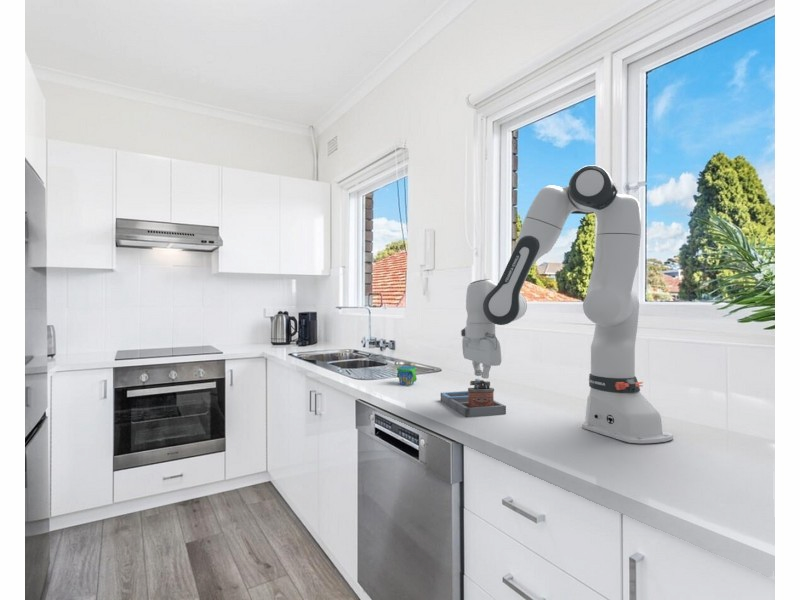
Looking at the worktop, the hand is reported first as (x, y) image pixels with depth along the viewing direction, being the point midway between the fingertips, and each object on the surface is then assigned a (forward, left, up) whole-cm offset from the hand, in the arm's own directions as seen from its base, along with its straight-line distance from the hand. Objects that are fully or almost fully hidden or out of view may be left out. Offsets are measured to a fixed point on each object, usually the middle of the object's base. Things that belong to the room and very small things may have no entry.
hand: (481, 376), depth 140 cm
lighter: (0, 0, -11) cm, 11 cm away
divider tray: (+7, 0, -11) cm, 13 cm away
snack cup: (+48, +10, -11) cm, 51 cm away
